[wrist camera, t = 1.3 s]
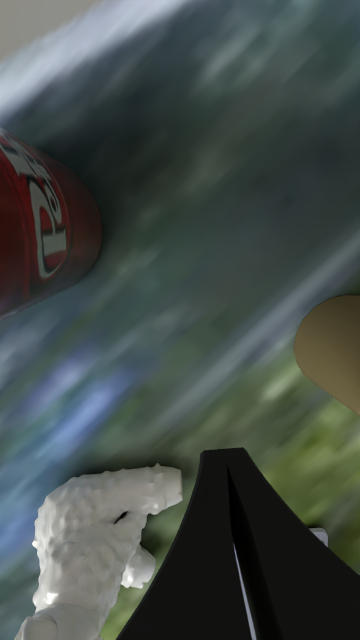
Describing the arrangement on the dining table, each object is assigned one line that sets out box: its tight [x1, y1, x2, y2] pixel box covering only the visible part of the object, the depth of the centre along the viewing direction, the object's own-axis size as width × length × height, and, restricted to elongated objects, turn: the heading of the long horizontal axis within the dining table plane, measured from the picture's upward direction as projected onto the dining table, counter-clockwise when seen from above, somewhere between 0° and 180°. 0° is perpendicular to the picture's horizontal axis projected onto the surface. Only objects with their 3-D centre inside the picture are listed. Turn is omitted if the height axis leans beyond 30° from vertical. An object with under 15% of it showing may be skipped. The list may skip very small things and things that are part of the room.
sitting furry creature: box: [14, 463, 183, 640], centre depth 17 cm, size 10×9×12 cm
